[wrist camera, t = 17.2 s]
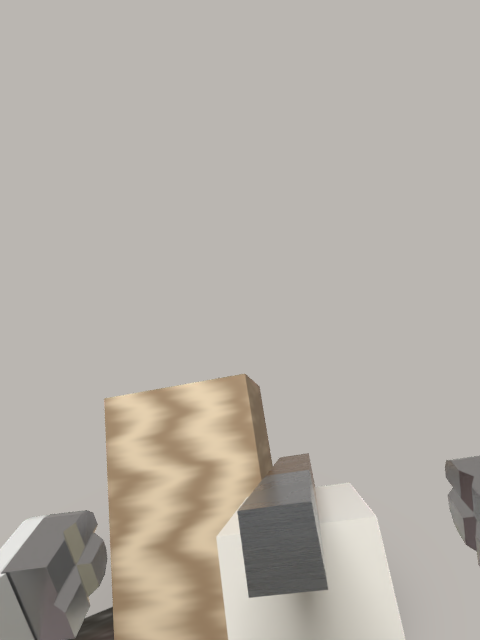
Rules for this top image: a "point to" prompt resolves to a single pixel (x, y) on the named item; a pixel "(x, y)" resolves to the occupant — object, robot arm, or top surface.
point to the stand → (178, 501)
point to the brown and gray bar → (283, 532)
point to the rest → (342, 578)
